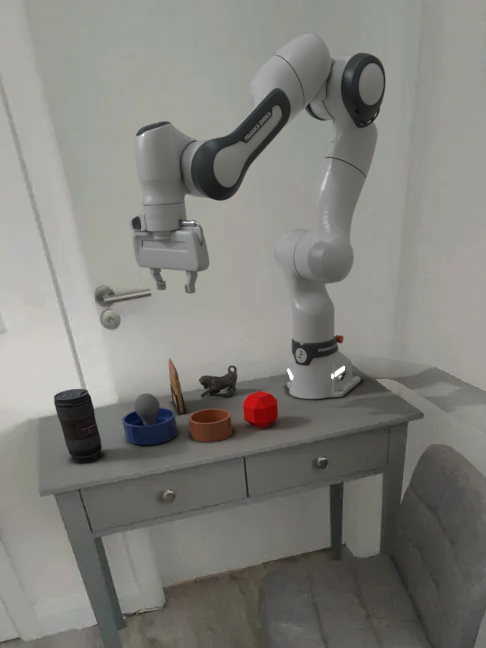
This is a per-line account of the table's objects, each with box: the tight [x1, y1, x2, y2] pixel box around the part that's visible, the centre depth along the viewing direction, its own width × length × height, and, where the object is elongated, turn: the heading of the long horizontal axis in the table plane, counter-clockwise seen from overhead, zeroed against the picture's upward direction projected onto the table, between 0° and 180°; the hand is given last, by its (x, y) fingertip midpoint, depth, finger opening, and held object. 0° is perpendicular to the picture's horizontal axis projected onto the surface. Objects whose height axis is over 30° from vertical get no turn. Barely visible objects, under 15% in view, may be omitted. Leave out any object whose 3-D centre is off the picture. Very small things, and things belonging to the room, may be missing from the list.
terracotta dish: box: [188, 408, 233, 443], centre depth 149 cm, size 10×10×4 cm
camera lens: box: [53, 388, 103, 464], centre depth 139 cm, size 8×8×15 cm
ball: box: [242, 390, 279, 430], centre depth 151 cm, size 8×8×8 cm
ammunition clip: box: [168, 357, 186, 415], centre depth 163 cm, size 11×2×12 cm, turn 16°
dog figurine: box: [198, 365, 238, 399], centre depth 171 cm, size 12×6×7 cm, turn 114°
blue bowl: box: [121, 407, 179, 446], centre depth 150 cm, size 13×13×5 cm
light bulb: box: [133, 393, 161, 426], centre depth 148 cm, size 6×6×10 cm
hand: (175, 291), depth 137 cm, fingers open, 8 cm apart
